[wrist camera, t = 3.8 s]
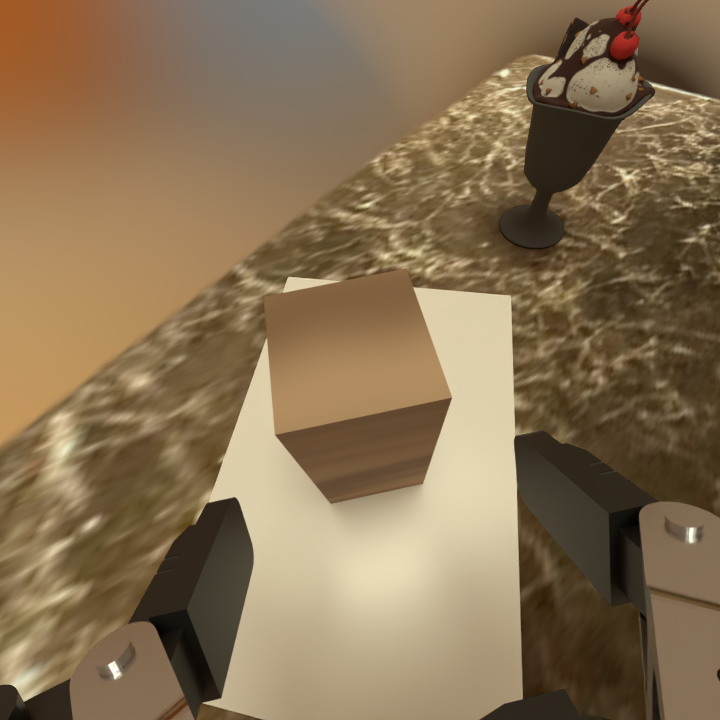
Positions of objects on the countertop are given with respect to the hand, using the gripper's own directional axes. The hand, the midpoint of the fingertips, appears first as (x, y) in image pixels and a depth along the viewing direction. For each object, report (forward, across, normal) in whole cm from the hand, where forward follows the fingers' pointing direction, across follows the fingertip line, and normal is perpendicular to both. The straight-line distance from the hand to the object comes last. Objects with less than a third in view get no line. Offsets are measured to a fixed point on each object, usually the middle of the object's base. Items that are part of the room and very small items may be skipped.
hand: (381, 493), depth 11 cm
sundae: (+21, -16, -6) cm, 28 cm away
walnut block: (+10, 0, +4) cm, 10 cm away
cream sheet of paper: (+10, 0, +4) cm, 11 cm away
